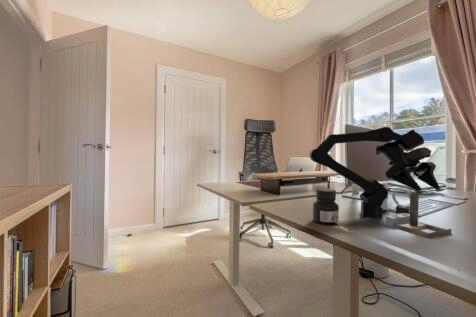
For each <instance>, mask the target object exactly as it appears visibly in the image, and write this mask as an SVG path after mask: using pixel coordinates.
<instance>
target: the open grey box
mask: <svg viewBox="0 0 476 317" xmlns="http://www.w3.org/2000/svg"><path fill="white" fill-rule="evenodd" d="M418 223H420V224H424V225H426V228H425V229H429V230H432V231H431V232H428V231H423V230H422V229H418V230H417V229H414V228H410V227H407V226H403V225H400V224H397V223H395V224H394V227H393V228H396V229H399V230H402V231H406V232H409V233H411V234H415V235H418V236H422V237H425V238H428V239H432V238H433V239H434V238H438V237H441V236H442V237H443V236H446V235H450V234H452V228H446V227H445V228H444V227H440V226H437V225H432V224H429V223H425V222H421V221H418Z"/></svg>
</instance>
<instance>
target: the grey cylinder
mask: <svg viewBox="0 0 476 317" xmlns="http://www.w3.org/2000/svg"><path fill="white" fill-rule="evenodd" d="M419 197H420V194H419V193H417V192H412V193H410V198H409V205H410V212H409V214H410V221H409V224H404V225H403V226H407V227H410V228H414V229H417V230H422V229H427V228H426V225H424V224H420V223H418V222H419V202H420V201H419Z"/></svg>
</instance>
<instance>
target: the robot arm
mask: <svg viewBox="0 0 476 317" xmlns="http://www.w3.org/2000/svg"><path fill="white" fill-rule="evenodd" d="M424 139H425V138H424V137H423V136H422V135H420V133H418V132H417V131H415V129H414V128H412V129H409V130H407V131H406V132H404V133H402V134H400V133H397V132H394V130H393V129H392V128H391V127H389V126H382V127H380V128H376V129H372V130H368V131H360V132H350V133H349V132H348V133H338V134H335V133H332V134H329V135H327V136H326V138H325V139H324V140H323V141H322V142H321V143H320V144H319V145H318V146H317V148H314V149H311V151H310V153H309V159H310V161H312V162H314V163H316V164H318V165H321V166H323V167H326V168H328V169H330V170H331V171H333V172H335V173H336V174H338V175H340V176H341V177H343V178H344V179H347V181H349V182H351V183H353V184H354V185H356V186H357V187H358V188H359V189H361V191H362V193H361V194H359V198H360V213H359V217H360V218H362V219H363V218H372V219H373V218H374V219H377V218H383V210H382V209H383V208H382V207H381V205H382V204H383V201H384V200H385V199H386V198H387V196H389V191H388V190H389V189H388V190H387V189H386V188H385V187H384V186H385V185H383V184H380V183H379V182H380V181H379V180H377V179H375V178H371V177H369V178H368V180H367V179H366V178H364V177H363V176H361V175H359V174H357V172H354V171H352V170H351V169H350V168H348V167H346V166H345V165H343V164H341V163H339V161H336V160H335V159H334V158H333V157H332V156H331V155H330V153H329V152H330V151H331V150H332V149H333V147H334V146H335V144H337V145H338V144H347V143H357V142H358V143H359V142H360V143H361V142H364V143H365V142H366V143H367V142H369V143H377V144H378V143H379V144H380V143H384V144H382V145H376V149H375V155H376V156H378V155H380V154H383V155H384V156H385V157H386V159H387V160H388V161H389V162H388V165H389V166H390V167H388V169H387V170H386V171H385V177H387V179H388V180H392V182H397V183H399V184H402V185H404V186H405V187H406V186H407V187H408V188H410V189H412V190H414V191H416V192H420V191H421V190H422V187H420V184H418V182H417V181H416V179H414V177H413V176H412V174H413V175H414V176H415V177H417V179H418V180H420V181H421V182H423V183H425V184H426V185H428V186H430V187H431V188H433V189H436V190H439V189H440V188H441V187H440V185H439V183H438V181H437V178H436V176H435V175H434V171H435V170H436V168H437V165H436V164H435V163H434V162H432V161H423V162H421V160H423V159H427V158H431V156H432V150H431V149H429V148H428V147H425V146H423V147H420V146H422V145H424V143H425V140H424ZM419 163H420V164H419ZM378 181H379V182H378ZM363 191H364V192H363ZM387 199H388V198H387Z"/></svg>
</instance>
